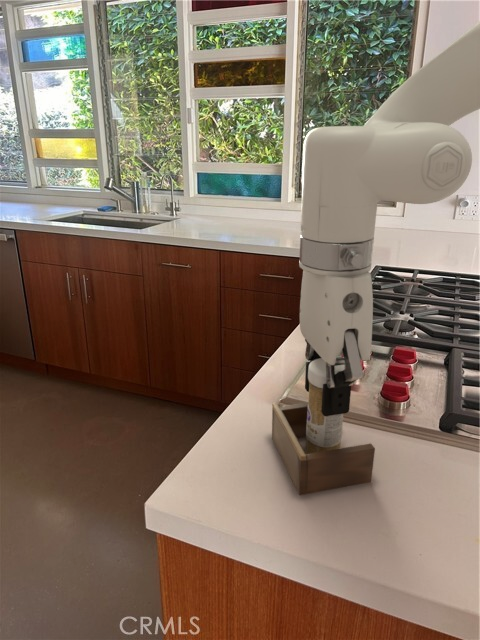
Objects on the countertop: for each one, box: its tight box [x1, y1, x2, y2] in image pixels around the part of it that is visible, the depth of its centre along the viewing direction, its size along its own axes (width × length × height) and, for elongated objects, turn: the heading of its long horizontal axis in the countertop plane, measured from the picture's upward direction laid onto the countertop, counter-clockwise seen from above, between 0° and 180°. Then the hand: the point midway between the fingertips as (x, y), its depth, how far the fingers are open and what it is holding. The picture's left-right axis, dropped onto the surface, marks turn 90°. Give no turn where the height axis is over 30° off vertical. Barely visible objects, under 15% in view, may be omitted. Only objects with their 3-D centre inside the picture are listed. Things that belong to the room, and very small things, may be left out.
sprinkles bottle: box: [304, 358, 345, 454], centre depth 56 cm, size 5×5×14 cm
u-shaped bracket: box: [271, 401, 376, 496], centre depth 58 cm, size 9×11×6 cm
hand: (326, 399), depth 56 cm, fingers closed on sprinkles bottle, 4 cm apart
